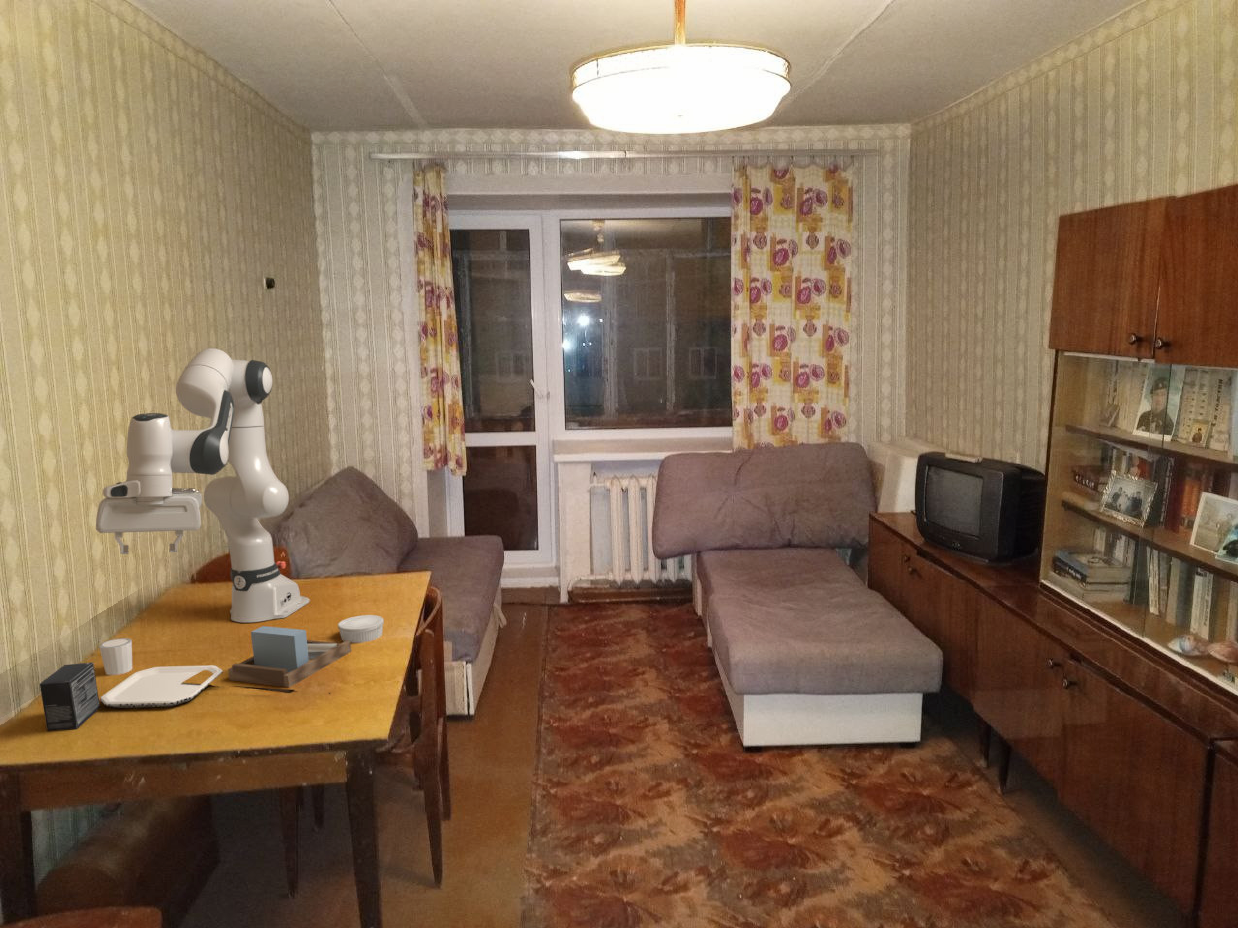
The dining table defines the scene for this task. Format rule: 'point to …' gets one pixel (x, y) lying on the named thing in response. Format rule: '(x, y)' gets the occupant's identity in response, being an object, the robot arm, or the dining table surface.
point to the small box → (70, 696)
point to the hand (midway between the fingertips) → (149, 552)
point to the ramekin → (361, 628)
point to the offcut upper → (318, 649)
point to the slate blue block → (279, 647)
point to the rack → (280, 676)
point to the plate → (158, 687)
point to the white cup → (117, 656)
